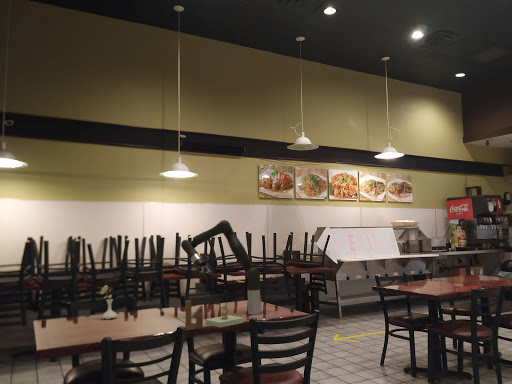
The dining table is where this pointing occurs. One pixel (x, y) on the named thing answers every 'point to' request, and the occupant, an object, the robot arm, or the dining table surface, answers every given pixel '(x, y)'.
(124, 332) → the dining table surface
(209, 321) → the sage board
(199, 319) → the brown wooden bracket
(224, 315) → the beech peg
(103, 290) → the flower in vase
